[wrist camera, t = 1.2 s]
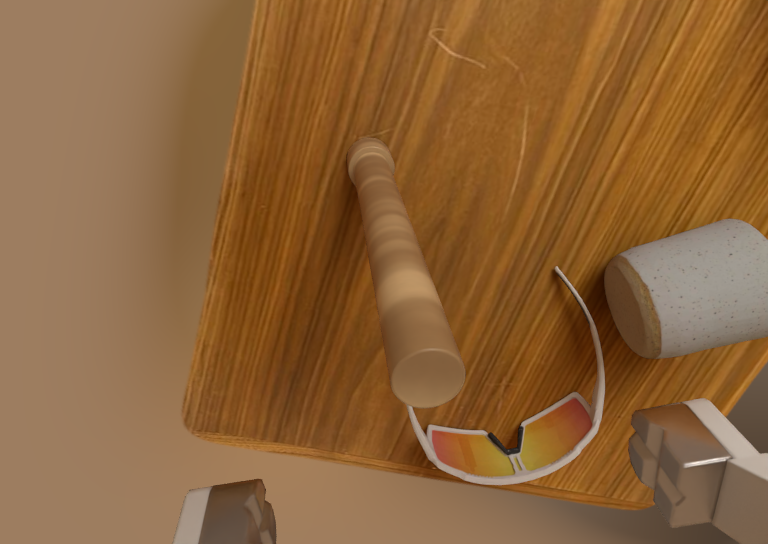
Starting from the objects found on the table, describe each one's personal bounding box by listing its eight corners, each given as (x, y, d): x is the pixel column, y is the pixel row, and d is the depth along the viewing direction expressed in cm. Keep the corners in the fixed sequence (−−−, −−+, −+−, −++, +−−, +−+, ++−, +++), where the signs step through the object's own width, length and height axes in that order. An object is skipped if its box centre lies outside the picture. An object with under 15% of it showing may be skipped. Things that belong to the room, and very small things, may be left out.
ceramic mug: (590, 238, 35) (653, 300, 29) (712, 198, 35) (805, 252, 28) (605, 356, 41) (661, 431, 34) (711, 323, 40) (789, 392, 34)
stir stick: (343, 141, 31) (372, 349, 13) (387, 133, 31) (475, 331, 13) (350, 183, 32) (386, 425, 15) (393, 176, 32) (479, 408, 15)
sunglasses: (420, 458, 43) (429, 505, 39) (380, 292, 38) (386, 323, 33) (589, 420, 43) (620, 461, 39) (574, 248, 38) (607, 272, 33)
